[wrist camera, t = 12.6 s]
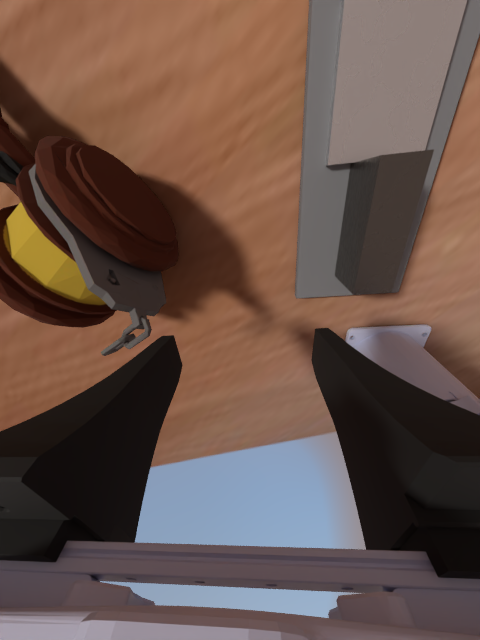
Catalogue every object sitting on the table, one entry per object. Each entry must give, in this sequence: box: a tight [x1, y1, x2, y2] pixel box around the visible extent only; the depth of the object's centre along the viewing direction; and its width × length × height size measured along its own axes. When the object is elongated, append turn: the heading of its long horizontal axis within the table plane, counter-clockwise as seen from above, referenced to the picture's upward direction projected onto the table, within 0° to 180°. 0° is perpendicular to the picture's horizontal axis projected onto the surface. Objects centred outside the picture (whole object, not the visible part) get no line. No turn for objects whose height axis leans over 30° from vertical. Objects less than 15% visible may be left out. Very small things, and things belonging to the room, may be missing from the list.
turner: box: [325, 0, 467, 295], centre depth 13 cm, size 15×6×4 cm, turn 5°
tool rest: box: [295, 0, 480, 298], centre depth 15 cm, size 18×9×1 cm, turn 5°
